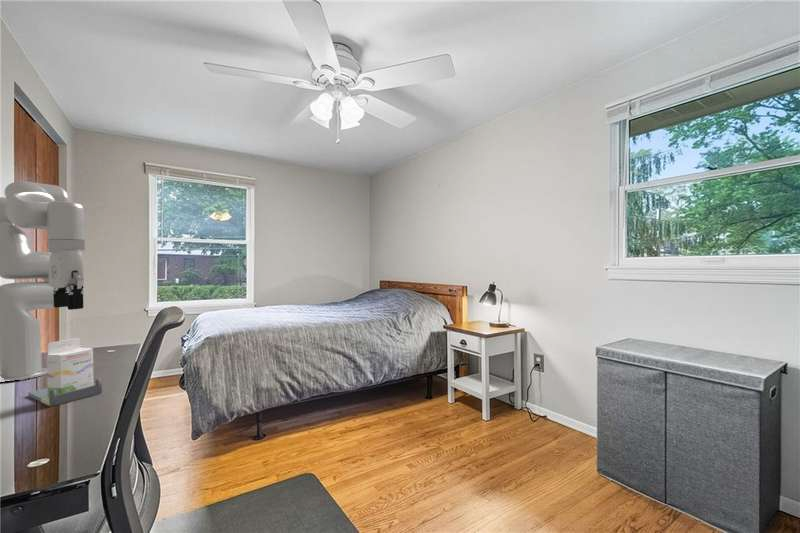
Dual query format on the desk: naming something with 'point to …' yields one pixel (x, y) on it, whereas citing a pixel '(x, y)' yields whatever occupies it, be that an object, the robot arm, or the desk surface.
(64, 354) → the ink box
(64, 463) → the desk surface
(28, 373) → the robot arm
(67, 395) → the tray
